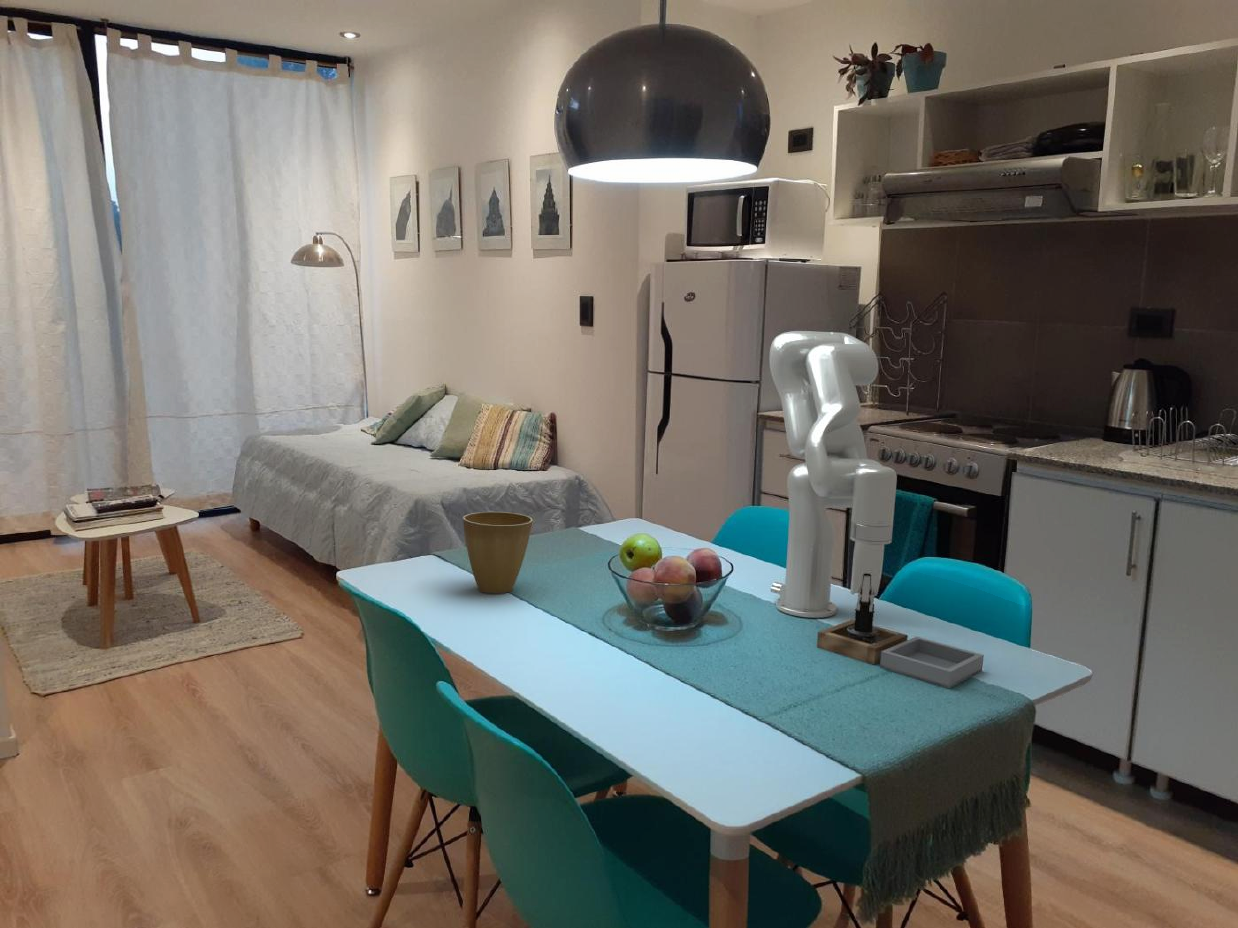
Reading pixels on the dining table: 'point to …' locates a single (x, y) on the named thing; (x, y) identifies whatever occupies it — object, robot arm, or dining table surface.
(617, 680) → the dining table surface
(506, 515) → the plant pot
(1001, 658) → the dining table surface
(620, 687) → the dining table surface
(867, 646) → the wooden tray
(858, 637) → the grey chess piece
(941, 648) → the grey tray
